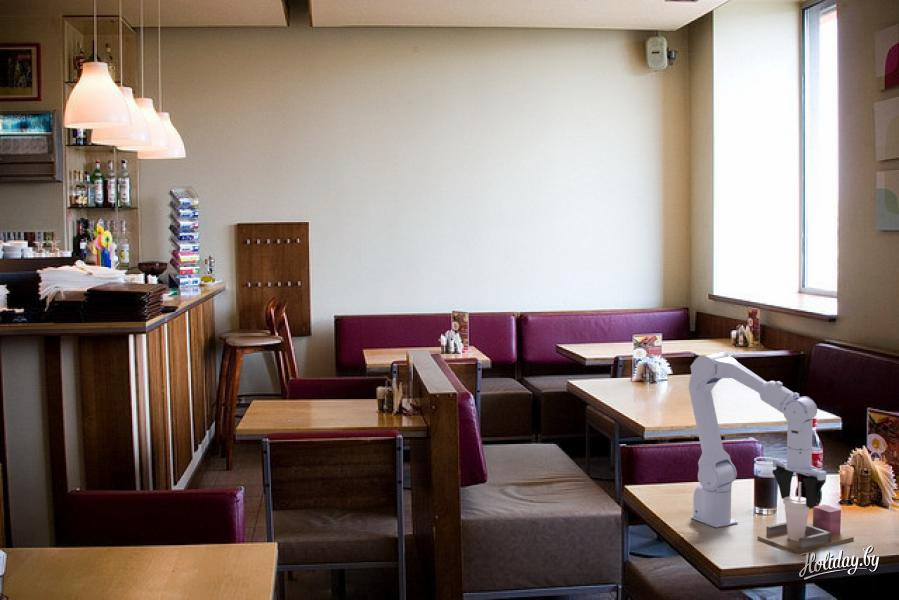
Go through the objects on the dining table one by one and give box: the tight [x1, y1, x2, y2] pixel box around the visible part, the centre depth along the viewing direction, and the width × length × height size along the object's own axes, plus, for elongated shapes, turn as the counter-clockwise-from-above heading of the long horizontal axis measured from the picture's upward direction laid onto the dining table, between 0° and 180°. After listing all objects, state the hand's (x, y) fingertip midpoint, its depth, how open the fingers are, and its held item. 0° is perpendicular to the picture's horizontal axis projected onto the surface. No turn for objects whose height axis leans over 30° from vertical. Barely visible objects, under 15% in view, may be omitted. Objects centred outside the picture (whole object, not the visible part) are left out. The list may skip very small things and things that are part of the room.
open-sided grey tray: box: [757, 504, 855, 555], centre depth 227 cm, size 12×20×7 cm, turn 118°
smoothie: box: [782, 481, 810, 541], centre depth 225 cm, size 6×6×14 cm
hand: (797, 502), depth 225 cm, fingers open, 7 cm apart
